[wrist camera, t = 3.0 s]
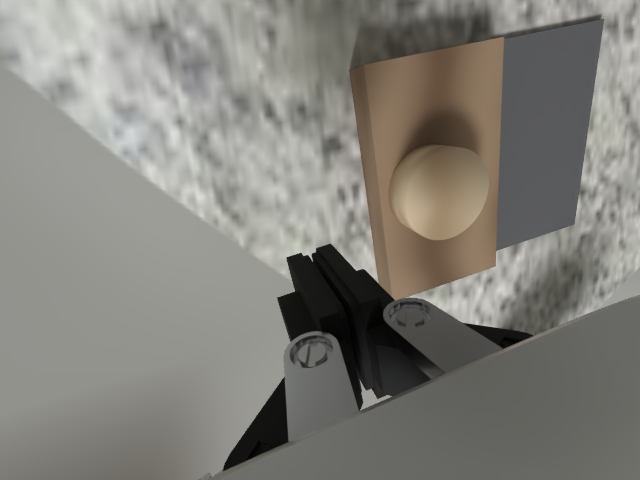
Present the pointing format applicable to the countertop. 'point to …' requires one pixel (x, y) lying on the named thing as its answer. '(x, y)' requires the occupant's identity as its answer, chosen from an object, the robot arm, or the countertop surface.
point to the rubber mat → (544, 128)
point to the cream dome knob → (438, 190)
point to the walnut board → (423, 129)
